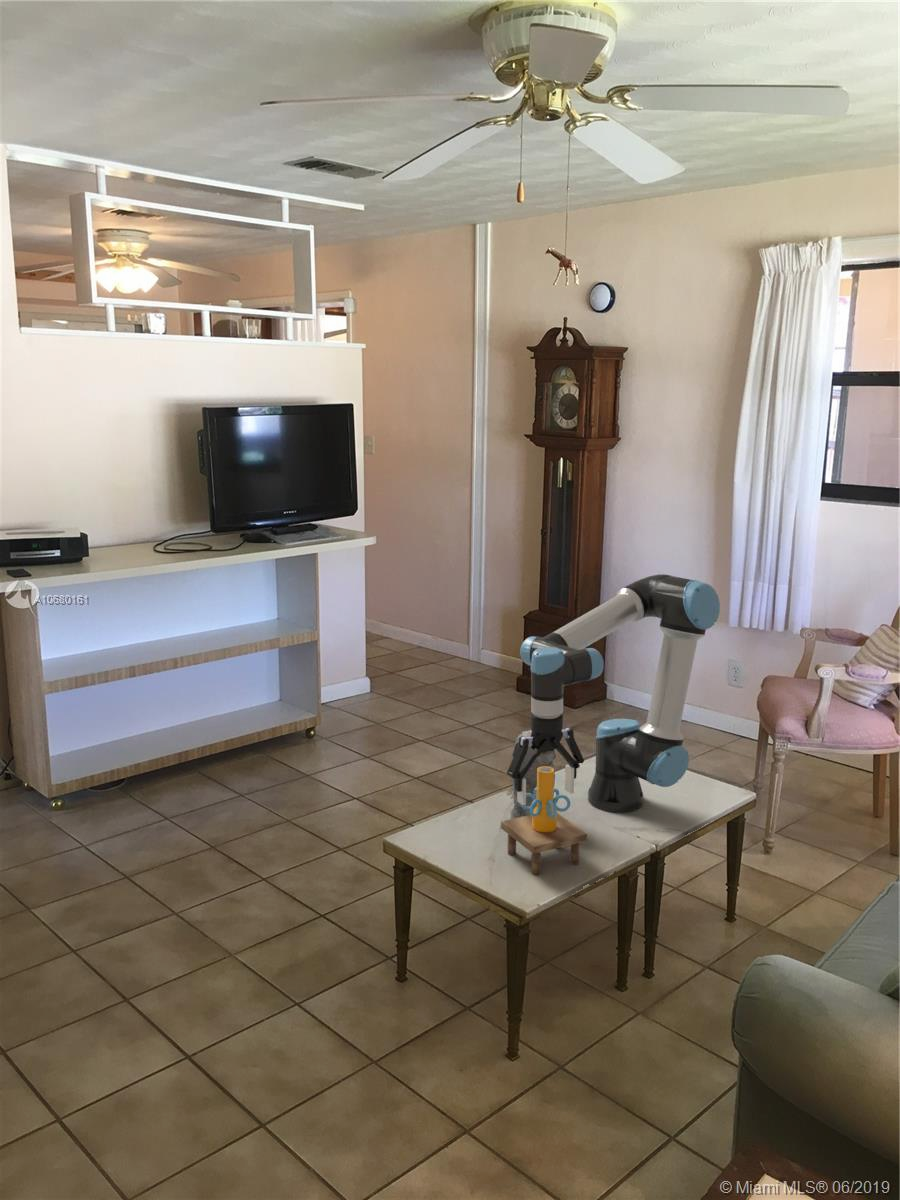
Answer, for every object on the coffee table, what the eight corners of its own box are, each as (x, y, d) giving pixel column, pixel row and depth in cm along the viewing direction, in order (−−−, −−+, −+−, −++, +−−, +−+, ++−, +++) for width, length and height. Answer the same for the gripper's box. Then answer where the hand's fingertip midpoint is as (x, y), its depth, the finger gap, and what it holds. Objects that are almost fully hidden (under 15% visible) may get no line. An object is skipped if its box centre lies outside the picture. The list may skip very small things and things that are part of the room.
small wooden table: (551, 839, 244) (552, 809, 242) (586, 864, 231) (587, 833, 229) (500, 851, 237) (501, 821, 235) (533, 878, 224) (533, 847, 222)
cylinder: (539, 813, 240) (541, 756, 237) (575, 824, 233) (577, 767, 230) (511, 830, 231) (512, 771, 227) (548, 842, 224) (549, 782, 221)
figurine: (527, 805, 264) (529, 718, 258) (562, 823, 252) (565, 733, 247) (499, 813, 258) (501, 725, 253) (534, 833, 247) (536, 741, 241)
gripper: (581, 700, 235) (579, 781, 239) (492, 717, 224) (492, 801, 228) (599, 709, 228) (597, 792, 233) (509, 727, 217) (508, 814, 222)
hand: (545, 797), depth 231 cm, fingers open, 13 cm apart
